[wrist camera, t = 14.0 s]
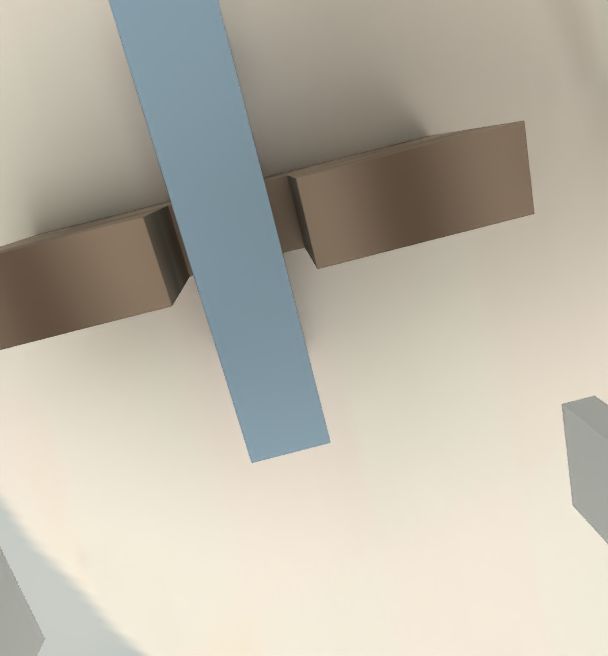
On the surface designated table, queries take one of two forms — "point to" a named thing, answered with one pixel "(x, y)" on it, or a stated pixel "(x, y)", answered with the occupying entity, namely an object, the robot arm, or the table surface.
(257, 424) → the long blue bar
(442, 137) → the slotted beam
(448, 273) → the table surface
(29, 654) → the robot arm
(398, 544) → the table surface
